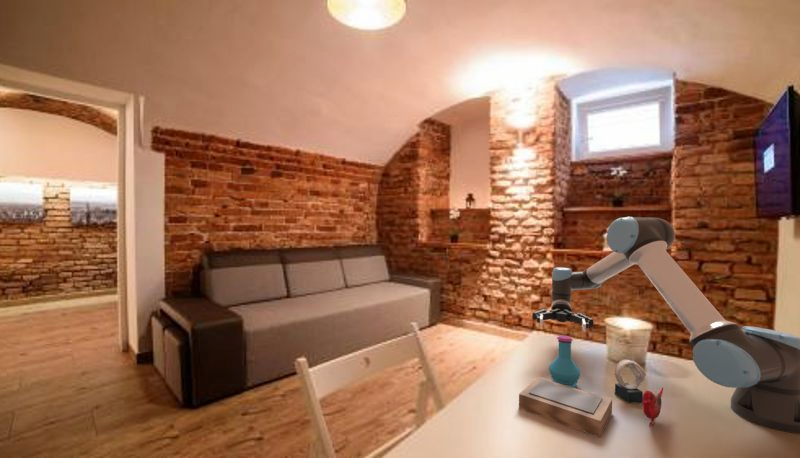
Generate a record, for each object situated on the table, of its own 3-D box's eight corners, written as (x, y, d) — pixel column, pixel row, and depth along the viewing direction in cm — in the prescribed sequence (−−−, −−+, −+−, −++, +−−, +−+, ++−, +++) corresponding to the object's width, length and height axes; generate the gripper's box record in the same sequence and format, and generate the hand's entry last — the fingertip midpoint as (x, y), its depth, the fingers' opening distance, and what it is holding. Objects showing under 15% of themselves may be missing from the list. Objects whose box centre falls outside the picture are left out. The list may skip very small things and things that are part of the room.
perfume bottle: (542, 379, 116) (542, 334, 115) (565, 375, 118) (565, 331, 118) (563, 392, 107) (563, 343, 106) (587, 388, 110) (588, 340, 109)
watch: (648, 402, 101) (649, 364, 101) (622, 403, 100) (623, 365, 100) (633, 392, 107) (634, 356, 107) (609, 393, 106) (609, 357, 106)
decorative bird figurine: (637, 432, 87) (638, 392, 87) (656, 407, 99) (657, 371, 98) (651, 437, 85) (652, 396, 84) (669, 411, 96) (669, 375, 96)
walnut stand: (611, 413, 95) (612, 397, 95) (600, 437, 85) (600, 419, 84) (537, 390, 108) (537, 376, 108) (518, 408, 98) (519, 392, 98)
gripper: (596, 323, 136) (603, 341, 116) (528, 316, 146) (523, 331, 127) (597, 304, 136) (604, 319, 116) (528, 298, 146) (524, 310, 126)
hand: (562, 325), depth 121 cm, fingers open, 13 cm apart
